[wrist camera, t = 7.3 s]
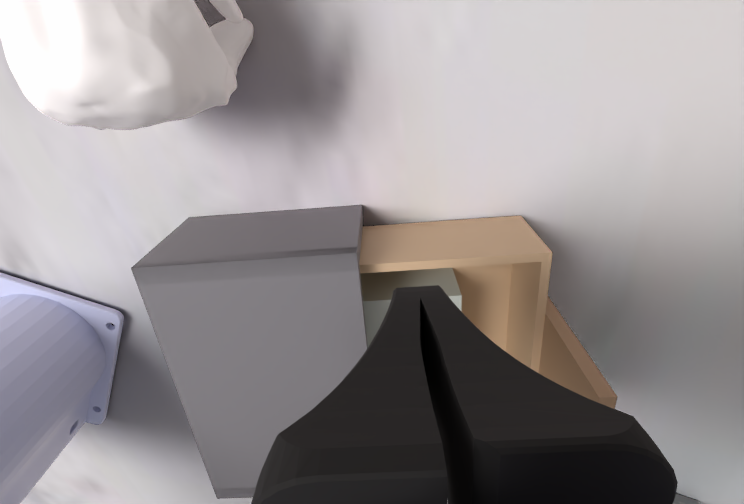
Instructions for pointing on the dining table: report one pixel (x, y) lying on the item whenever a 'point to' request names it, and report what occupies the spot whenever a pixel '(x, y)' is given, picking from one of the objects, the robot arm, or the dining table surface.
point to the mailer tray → (482, 290)
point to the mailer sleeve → (255, 326)
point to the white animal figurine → (122, 58)
